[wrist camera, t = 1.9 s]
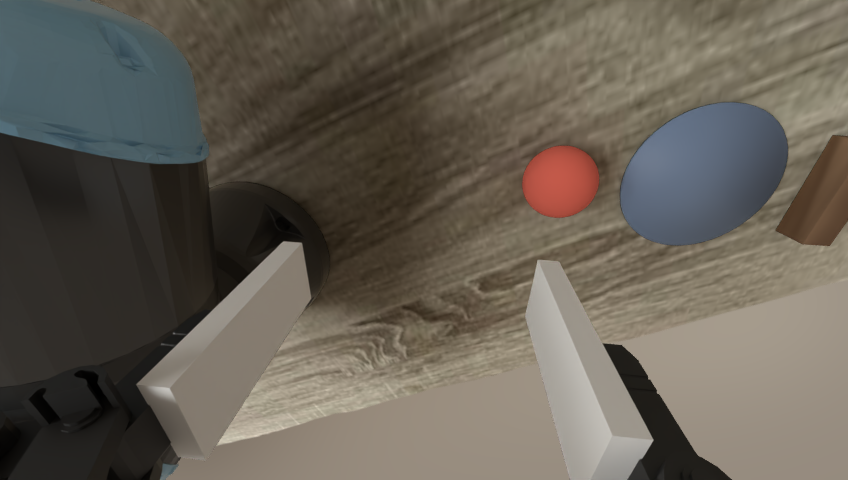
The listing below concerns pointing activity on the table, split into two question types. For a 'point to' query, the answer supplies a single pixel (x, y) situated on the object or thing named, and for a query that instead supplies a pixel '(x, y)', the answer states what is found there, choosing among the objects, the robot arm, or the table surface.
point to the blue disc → (703, 173)
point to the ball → (560, 181)
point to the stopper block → (821, 199)
